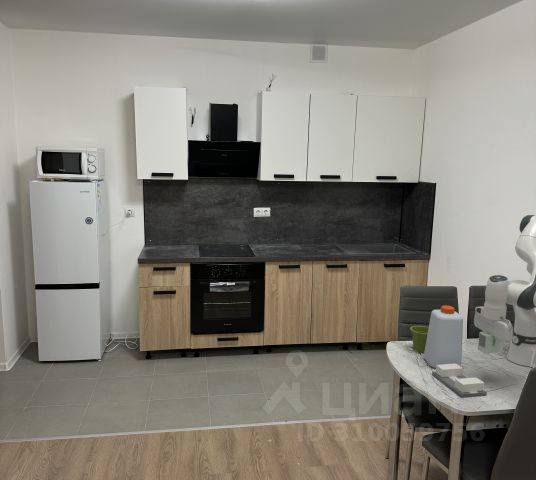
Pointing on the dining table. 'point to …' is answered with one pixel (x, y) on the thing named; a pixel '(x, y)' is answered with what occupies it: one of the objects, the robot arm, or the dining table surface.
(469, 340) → the dining table surface
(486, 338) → the block
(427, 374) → the dining table surface
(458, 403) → the dining table surface
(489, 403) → the dining table surface
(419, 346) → the plant pot
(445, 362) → the plastic bottle
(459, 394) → the board
